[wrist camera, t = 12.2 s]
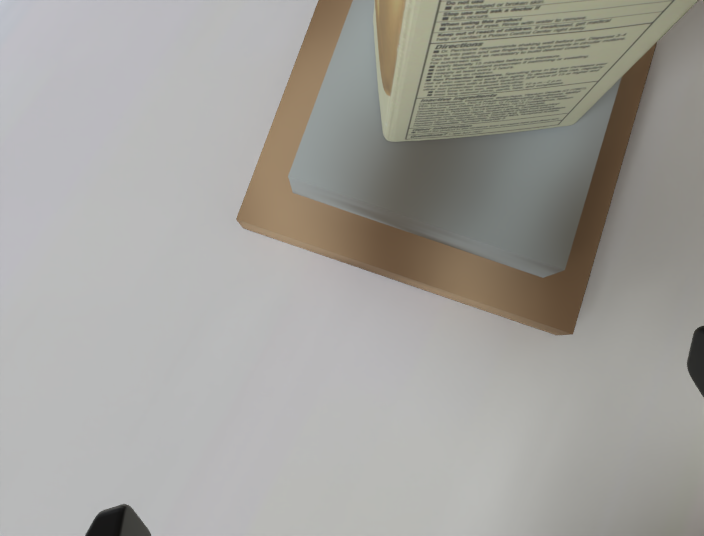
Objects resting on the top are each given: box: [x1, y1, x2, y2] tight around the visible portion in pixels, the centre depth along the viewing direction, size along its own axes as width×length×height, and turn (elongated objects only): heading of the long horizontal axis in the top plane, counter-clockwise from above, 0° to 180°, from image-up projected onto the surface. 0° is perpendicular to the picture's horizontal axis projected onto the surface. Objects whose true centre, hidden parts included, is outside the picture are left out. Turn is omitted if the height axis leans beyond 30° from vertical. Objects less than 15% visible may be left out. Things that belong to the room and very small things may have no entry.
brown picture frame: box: [236, 0, 657, 335], centre depth 21 cm, size 12×12×4 cm
